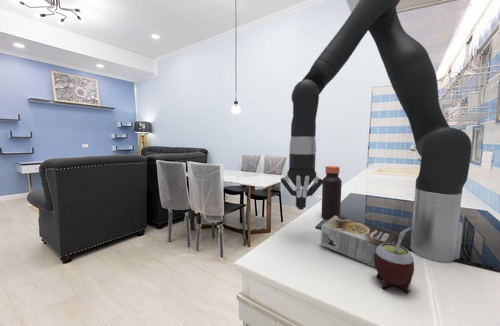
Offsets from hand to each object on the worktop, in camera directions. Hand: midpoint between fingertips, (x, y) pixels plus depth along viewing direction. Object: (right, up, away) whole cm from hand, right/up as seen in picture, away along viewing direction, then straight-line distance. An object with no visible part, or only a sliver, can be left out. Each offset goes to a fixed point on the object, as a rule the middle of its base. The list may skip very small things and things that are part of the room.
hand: (300, 208), depth 67 cm
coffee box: (+7, -5, -3) cm, 9 cm away
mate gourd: (+15, -12, -21) cm, 28 cm away
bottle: (+16, -8, +18) cm, 25 cm away
